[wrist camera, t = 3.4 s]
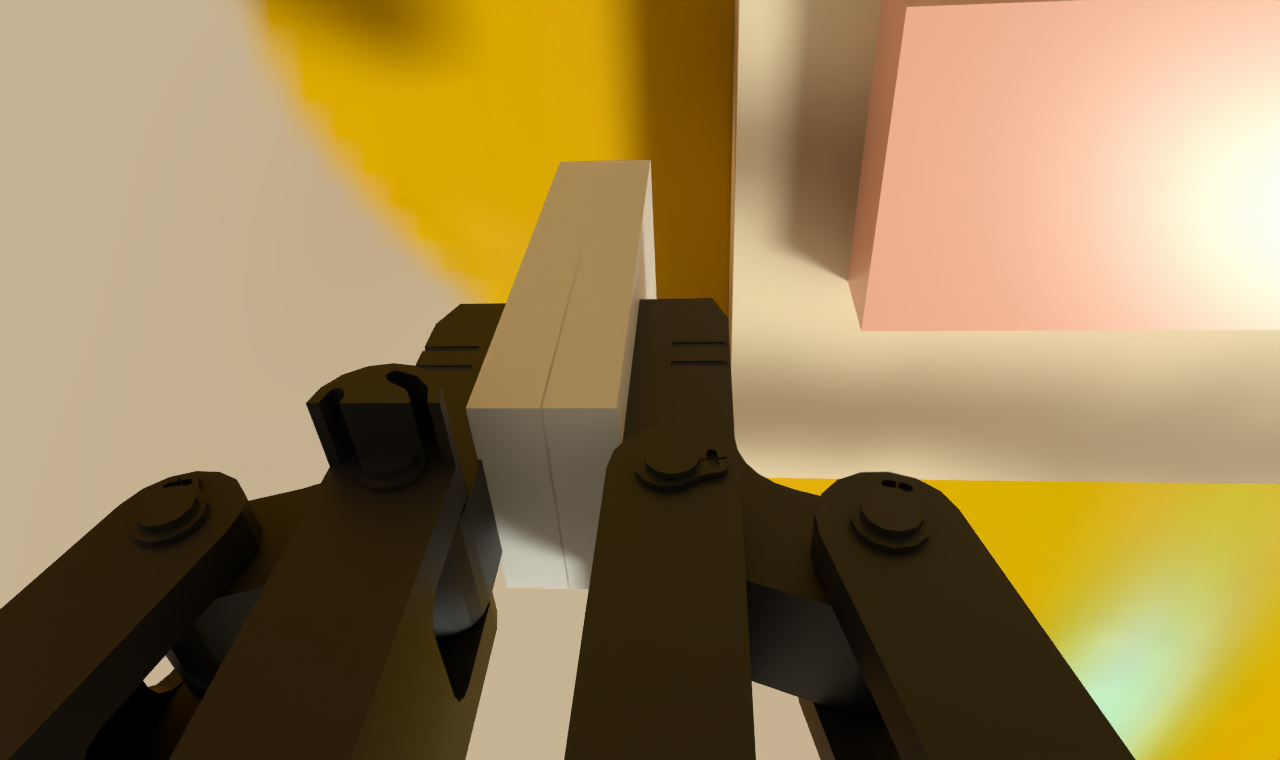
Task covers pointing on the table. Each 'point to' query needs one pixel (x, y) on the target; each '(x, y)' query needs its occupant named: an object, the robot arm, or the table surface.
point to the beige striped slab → (936, 360)
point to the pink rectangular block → (1071, 167)
